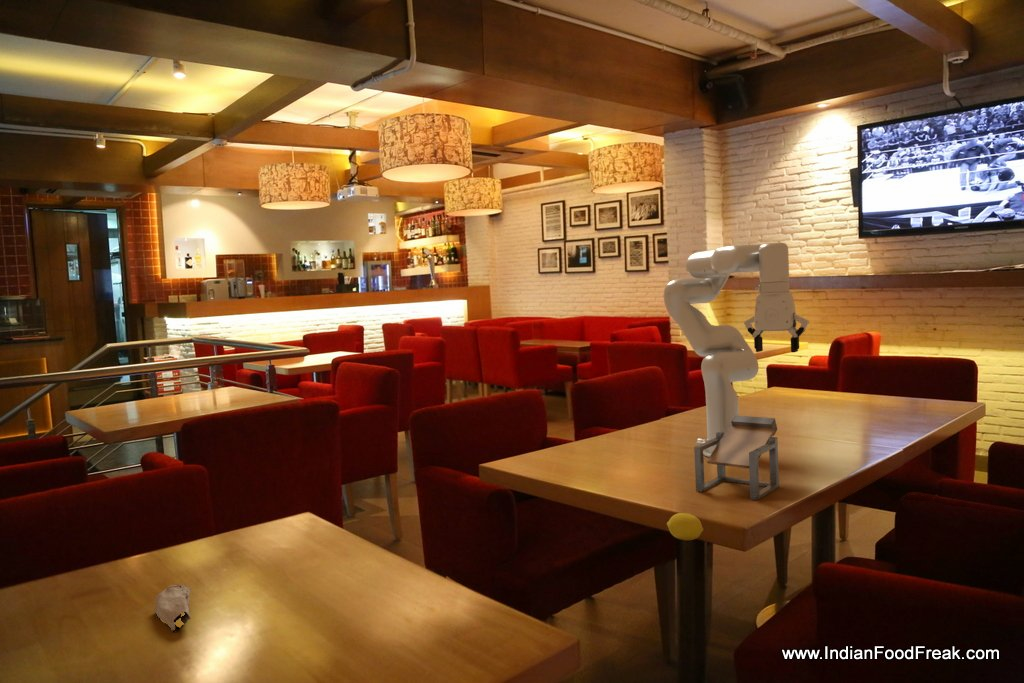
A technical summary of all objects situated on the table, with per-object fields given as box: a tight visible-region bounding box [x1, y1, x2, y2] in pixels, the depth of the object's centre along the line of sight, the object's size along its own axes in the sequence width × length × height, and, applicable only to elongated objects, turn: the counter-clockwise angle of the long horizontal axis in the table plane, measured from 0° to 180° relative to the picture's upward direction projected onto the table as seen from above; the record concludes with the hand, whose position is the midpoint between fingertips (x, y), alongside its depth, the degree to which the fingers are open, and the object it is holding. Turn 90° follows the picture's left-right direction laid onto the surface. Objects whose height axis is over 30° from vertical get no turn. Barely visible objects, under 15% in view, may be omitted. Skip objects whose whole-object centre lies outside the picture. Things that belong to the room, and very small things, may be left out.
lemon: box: [666, 512, 704, 541], centre depth 152 cm, size 6×6×8 cm
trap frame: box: [694, 432, 780, 501], centre depth 186 cm, size 16×14×13 cm
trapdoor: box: [706, 415, 778, 469], centre depth 189 cm, size 12×19×4 cm, turn 139°
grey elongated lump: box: [154, 583, 192, 631], centre depth 127 cm, size 14×6×5 cm, turn 28°
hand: (776, 351), depth 198 cm, fingers open, 9 cm apart
